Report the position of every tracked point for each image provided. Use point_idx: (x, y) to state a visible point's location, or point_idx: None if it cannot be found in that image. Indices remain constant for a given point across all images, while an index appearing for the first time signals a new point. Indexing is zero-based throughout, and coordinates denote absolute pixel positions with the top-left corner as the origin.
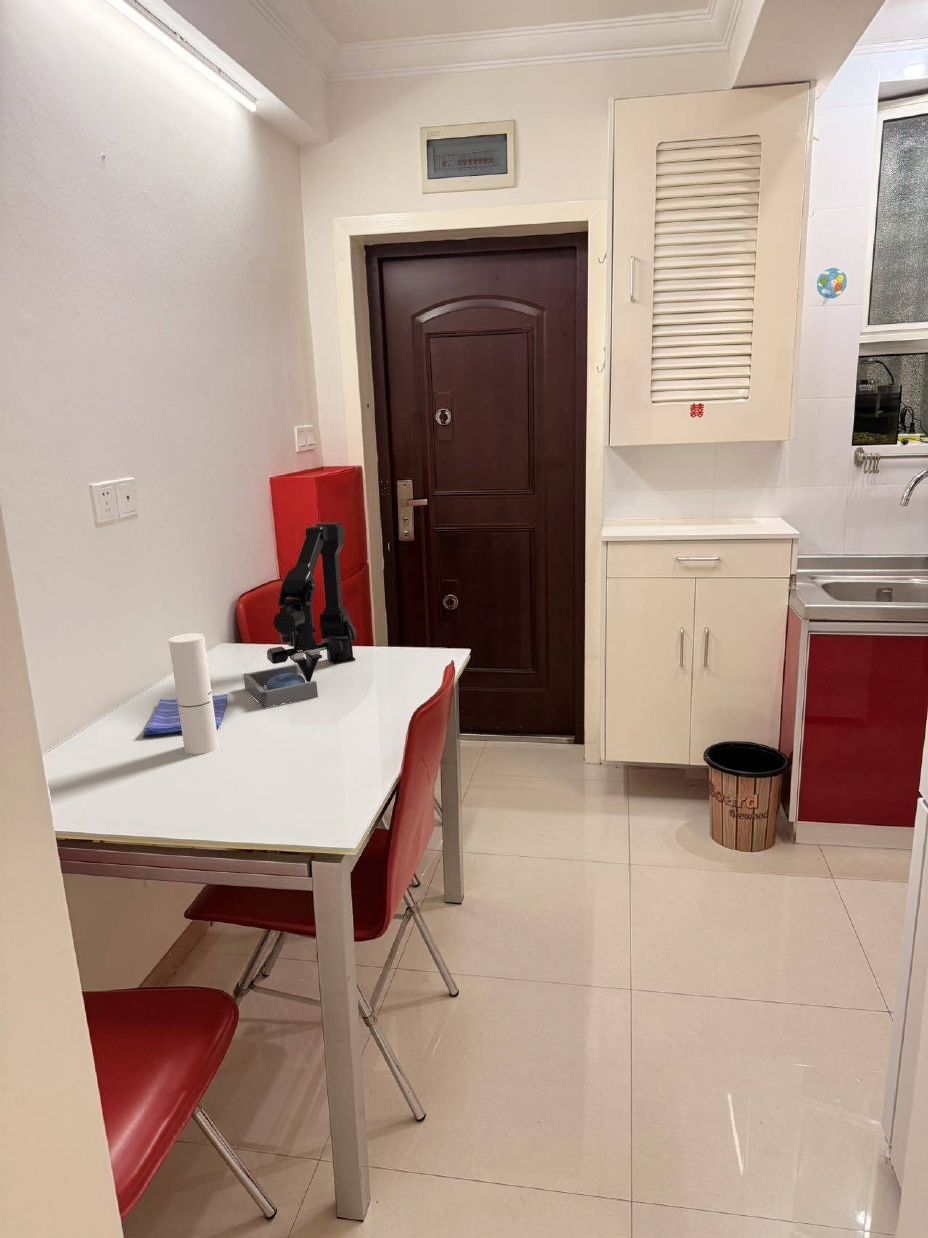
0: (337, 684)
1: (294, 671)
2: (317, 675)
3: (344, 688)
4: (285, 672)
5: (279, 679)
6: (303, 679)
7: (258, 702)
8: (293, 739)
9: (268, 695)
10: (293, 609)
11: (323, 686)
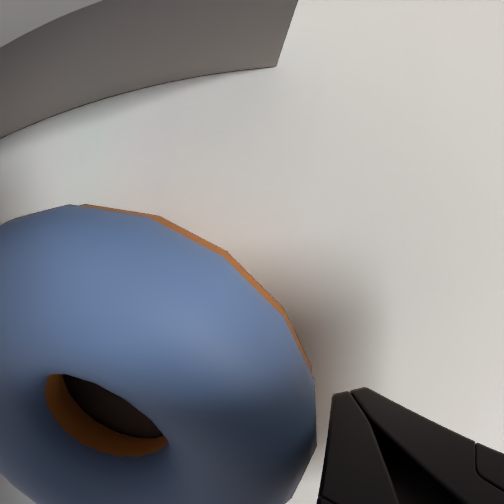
0: (498, 374)
1: (251, 20)
2: (459, 65)
3: (481, 443)
4: (104, 47)
5: (20, 388)
6: (289, 498)
7: None
8: None
9: None
10: None
11: (428, 390)
